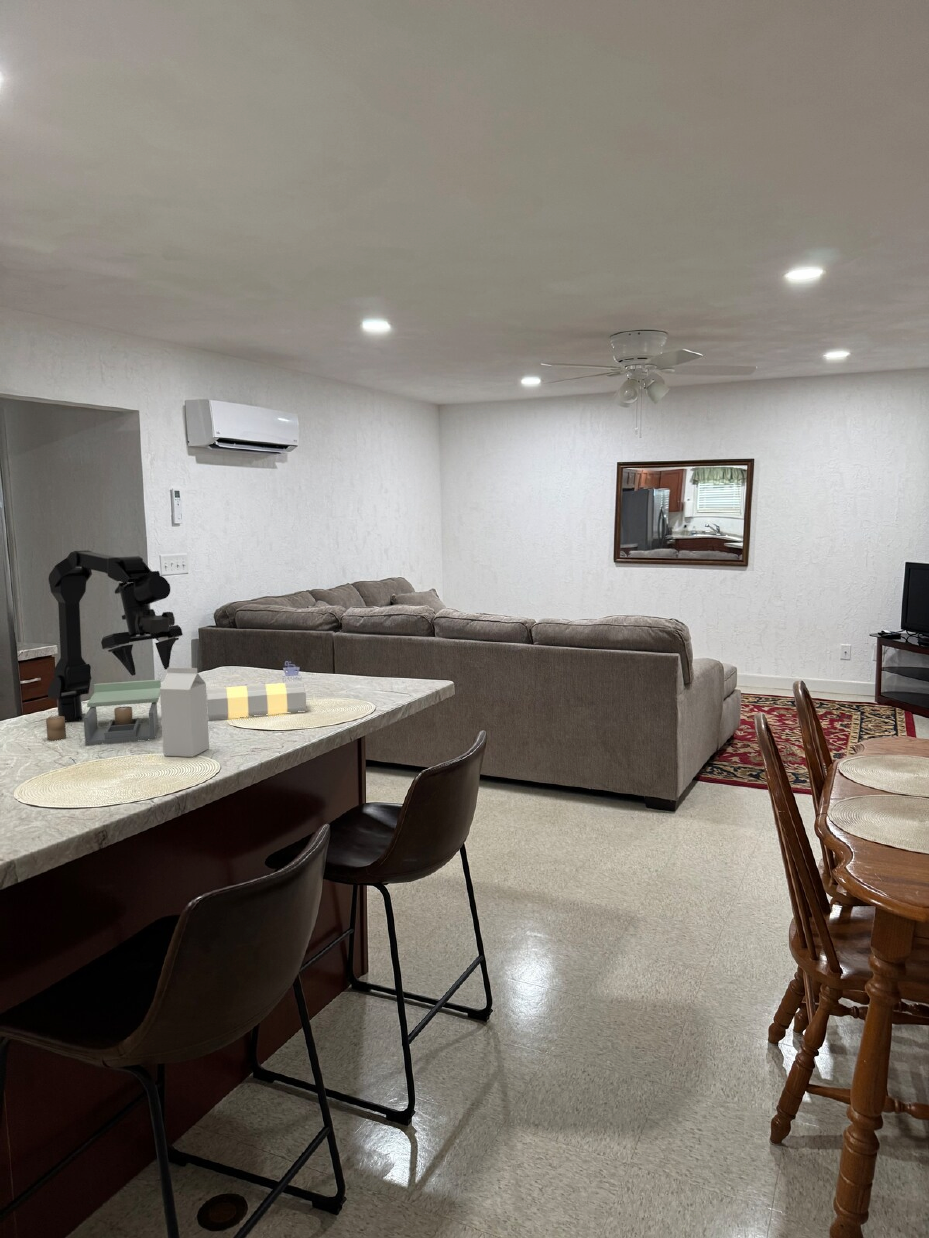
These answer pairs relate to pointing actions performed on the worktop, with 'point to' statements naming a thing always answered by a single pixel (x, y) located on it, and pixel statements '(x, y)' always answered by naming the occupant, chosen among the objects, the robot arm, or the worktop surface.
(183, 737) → the milk carton
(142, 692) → the lid
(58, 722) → the brown sleeve
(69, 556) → the robot arm
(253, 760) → the worktop surface
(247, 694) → the yellow banded gray prism
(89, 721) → the housing
